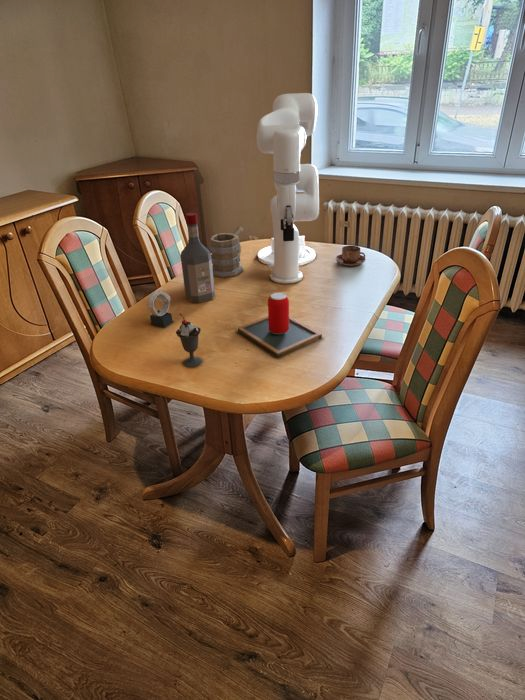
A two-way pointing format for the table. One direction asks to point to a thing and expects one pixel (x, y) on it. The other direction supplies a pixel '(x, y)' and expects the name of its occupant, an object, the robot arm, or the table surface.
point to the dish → (304, 253)
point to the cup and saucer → (351, 256)
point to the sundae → (189, 341)
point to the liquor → (196, 265)
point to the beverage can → (278, 313)
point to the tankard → (226, 254)
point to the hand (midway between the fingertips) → (287, 235)
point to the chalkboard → (279, 336)
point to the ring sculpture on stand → (159, 316)
